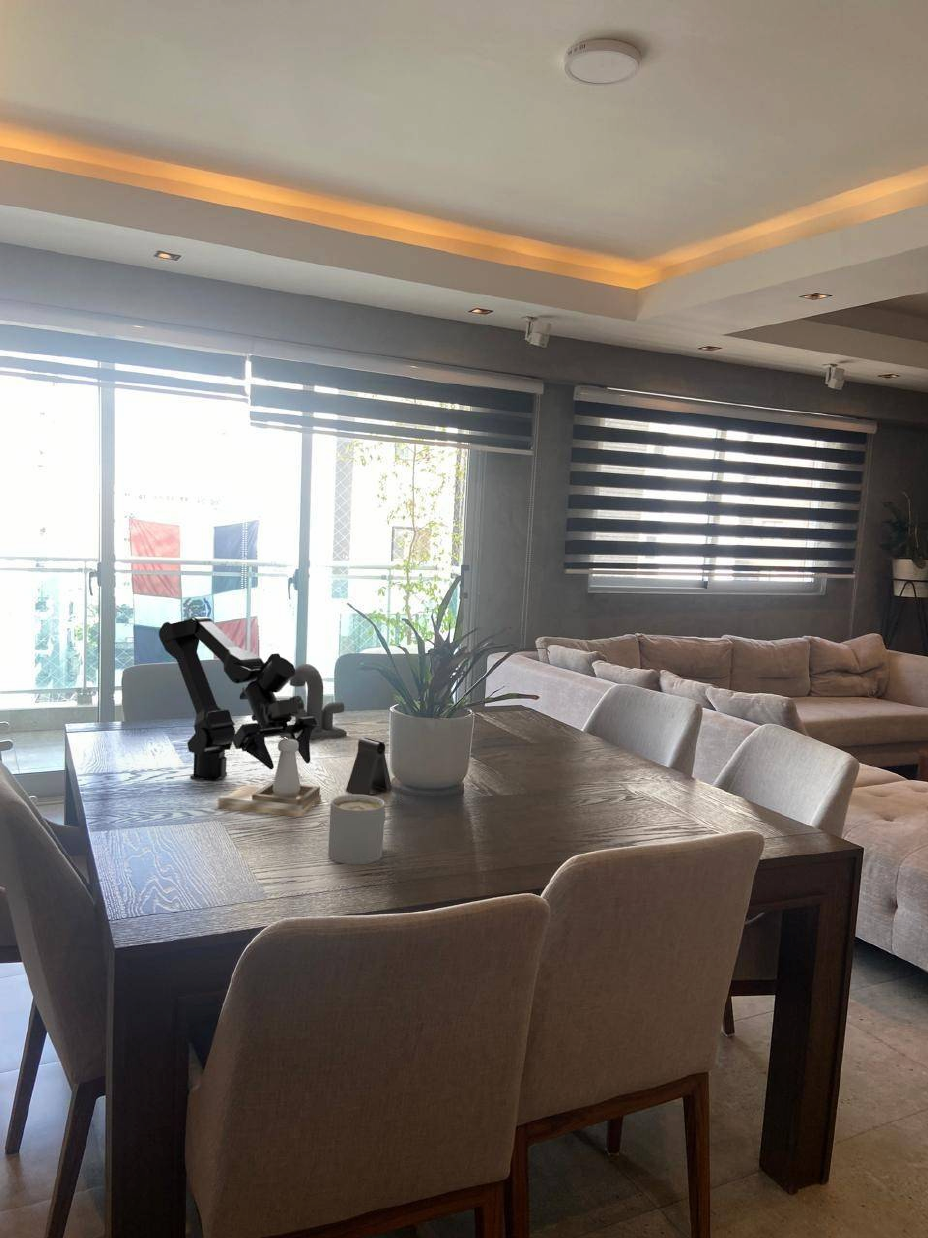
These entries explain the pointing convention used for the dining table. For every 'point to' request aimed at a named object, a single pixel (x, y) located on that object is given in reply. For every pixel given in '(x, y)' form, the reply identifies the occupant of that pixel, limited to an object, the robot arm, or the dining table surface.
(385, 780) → the dark brown phone stand
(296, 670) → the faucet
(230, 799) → the wooden tray
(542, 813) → the dining table surface
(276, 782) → the salt shaker
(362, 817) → the coffee mug
